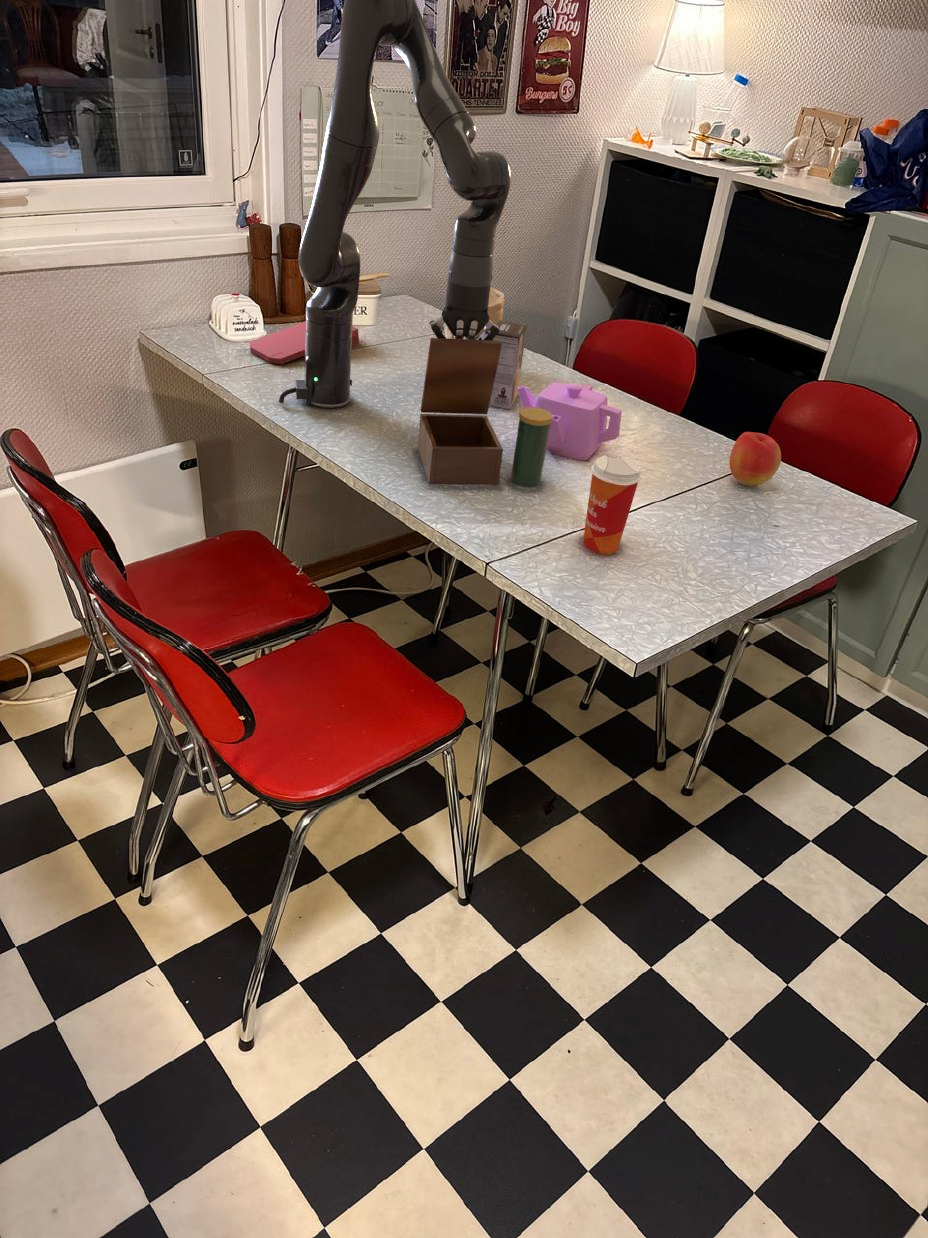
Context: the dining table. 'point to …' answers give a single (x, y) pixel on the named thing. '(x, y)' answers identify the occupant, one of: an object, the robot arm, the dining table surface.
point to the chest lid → (460, 376)
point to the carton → (286, 344)
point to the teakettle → (575, 418)
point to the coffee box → (508, 363)
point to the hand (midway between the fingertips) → (459, 374)
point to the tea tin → (530, 446)
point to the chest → (459, 449)
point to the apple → (754, 458)
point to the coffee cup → (609, 502)
